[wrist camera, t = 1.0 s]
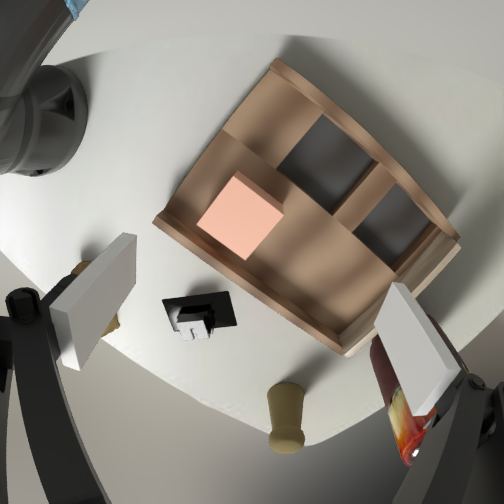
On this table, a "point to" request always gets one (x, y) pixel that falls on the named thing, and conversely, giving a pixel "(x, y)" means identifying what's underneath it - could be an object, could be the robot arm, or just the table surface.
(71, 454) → the robot arm
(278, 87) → the box
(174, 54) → the table surface
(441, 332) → the vase
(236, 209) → the block
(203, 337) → the black piece
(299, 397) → the cork
